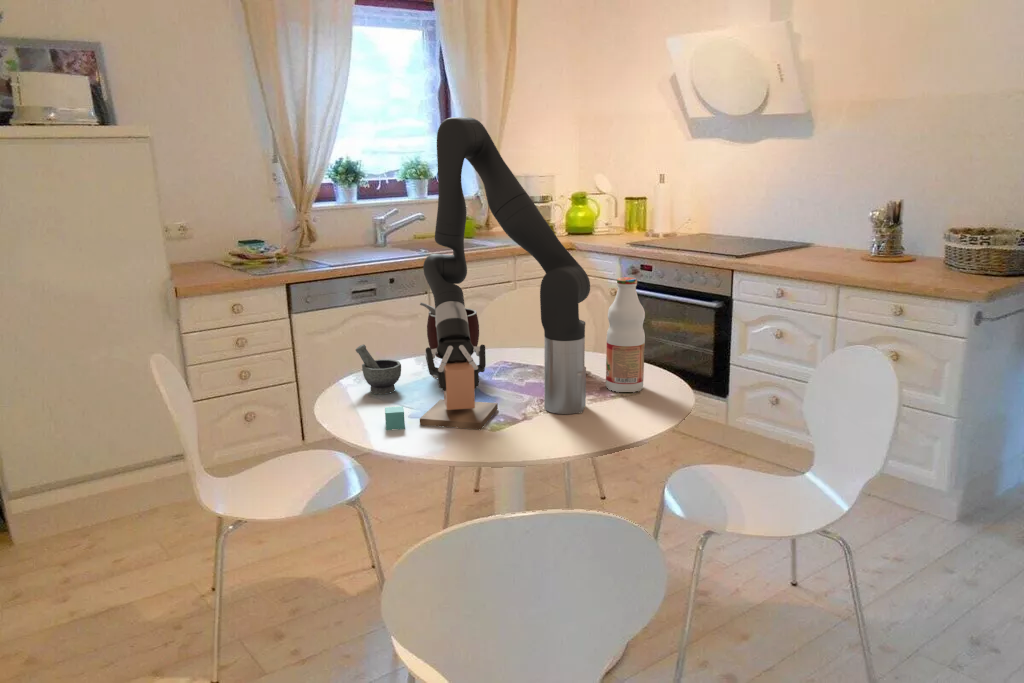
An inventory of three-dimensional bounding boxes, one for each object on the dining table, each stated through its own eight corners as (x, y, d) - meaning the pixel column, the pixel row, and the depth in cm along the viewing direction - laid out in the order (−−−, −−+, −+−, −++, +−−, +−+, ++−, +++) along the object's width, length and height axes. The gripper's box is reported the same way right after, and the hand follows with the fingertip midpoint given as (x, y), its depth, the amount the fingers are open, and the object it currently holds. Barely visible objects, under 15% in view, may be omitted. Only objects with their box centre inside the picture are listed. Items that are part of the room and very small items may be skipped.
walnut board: (497, 409, 180) (497, 403, 180) (480, 429, 167) (480, 423, 167) (440, 405, 184) (440, 399, 183) (419, 425, 170) (419, 418, 170)
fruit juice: (625, 396, 189) (628, 283, 182) (597, 387, 196) (599, 278, 189) (651, 388, 195) (654, 278, 188) (623, 380, 202) (625, 274, 195)
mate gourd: (479, 366, 217) (478, 296, 212) (480, 380, 203) (478, 306, 198) (424, 368, 216) (421, 297, 211) (421, 382, 202) (418, 307, 198)
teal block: (403, 423, 172) (403, 406, 171) (404, 429, 168) (404, 411, 167) (385, 424, 171) (384, 407, 170) (386, 430, 167) (385, 413, 166)
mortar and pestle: (405, 385, 200) (403, 340, 197) (399, 396, 191) (397, 349, 188) (361, 385, 200) (359, 340, 197) (353, 396, 191) (351, 349, 188)
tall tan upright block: (470, 399, 178) (470, 361, 176) (474, 408, 172) (474, 369, 170) (444, 401, 177) (442, 363, 175) (447, 409, 171) (445, 370, 169)
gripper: (421, 318, 176) (428, 382, 168) (484, 315, 179) (493, 378, 170) (420, 335, 182) (426, 398, 174) (481, 332, 185) (490, 394, 176)
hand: (459, 388), depth 172 cm, fingers open, 6 cm apart
